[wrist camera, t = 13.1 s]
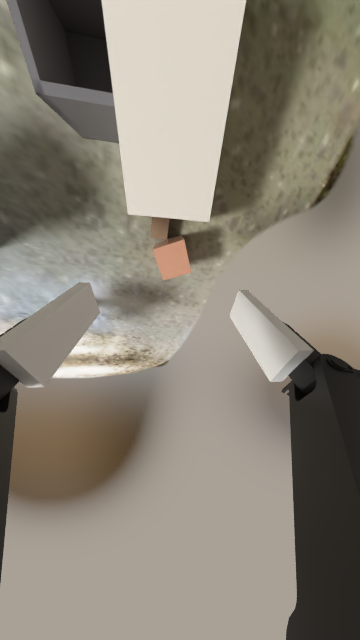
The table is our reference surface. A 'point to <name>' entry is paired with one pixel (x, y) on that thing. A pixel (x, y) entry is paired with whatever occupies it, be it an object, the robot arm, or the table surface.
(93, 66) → the tunnel
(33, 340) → the robot arm
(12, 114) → the table surface
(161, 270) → the block
